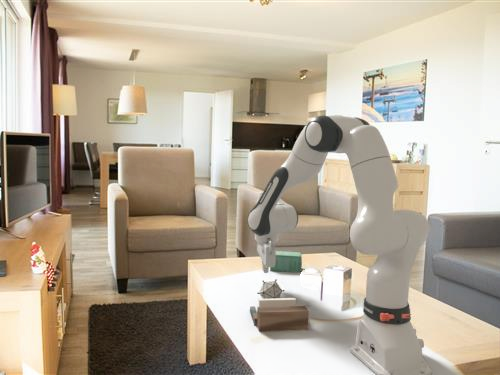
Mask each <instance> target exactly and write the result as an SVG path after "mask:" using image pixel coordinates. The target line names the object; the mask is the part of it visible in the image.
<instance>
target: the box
mask: <svg viewBox="0 0 500 375" xmlns="http://www.w3.org/2000/svg"><path fill="white" fill-rule="evenodd" d="M275 252H276V262H275V267H269V271H271V272H288V273H289V272H291V273H301V272H302V267H303V266H302V263H303V260H302V259H303V258H302V252H299V251H298V252H297V251H281V250H275ZM300 271H301V272H300Z"/></svg>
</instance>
